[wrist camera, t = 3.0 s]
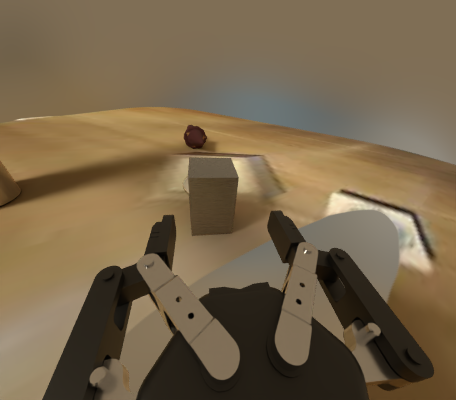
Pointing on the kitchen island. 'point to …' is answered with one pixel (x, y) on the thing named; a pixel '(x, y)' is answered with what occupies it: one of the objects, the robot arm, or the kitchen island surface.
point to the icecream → (194, 137)
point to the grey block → (212, 195)
